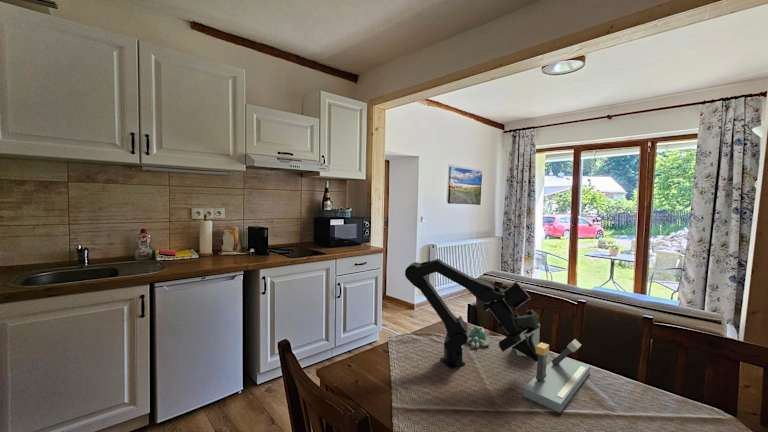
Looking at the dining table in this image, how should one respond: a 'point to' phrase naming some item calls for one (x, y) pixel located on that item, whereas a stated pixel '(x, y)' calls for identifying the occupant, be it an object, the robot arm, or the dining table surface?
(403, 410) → the dining table surface
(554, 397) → the switch panel
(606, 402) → the dining table surface
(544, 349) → the lever
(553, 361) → the on lever
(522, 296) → the robot arm
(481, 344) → the stuffed animal
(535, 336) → the supplement box
